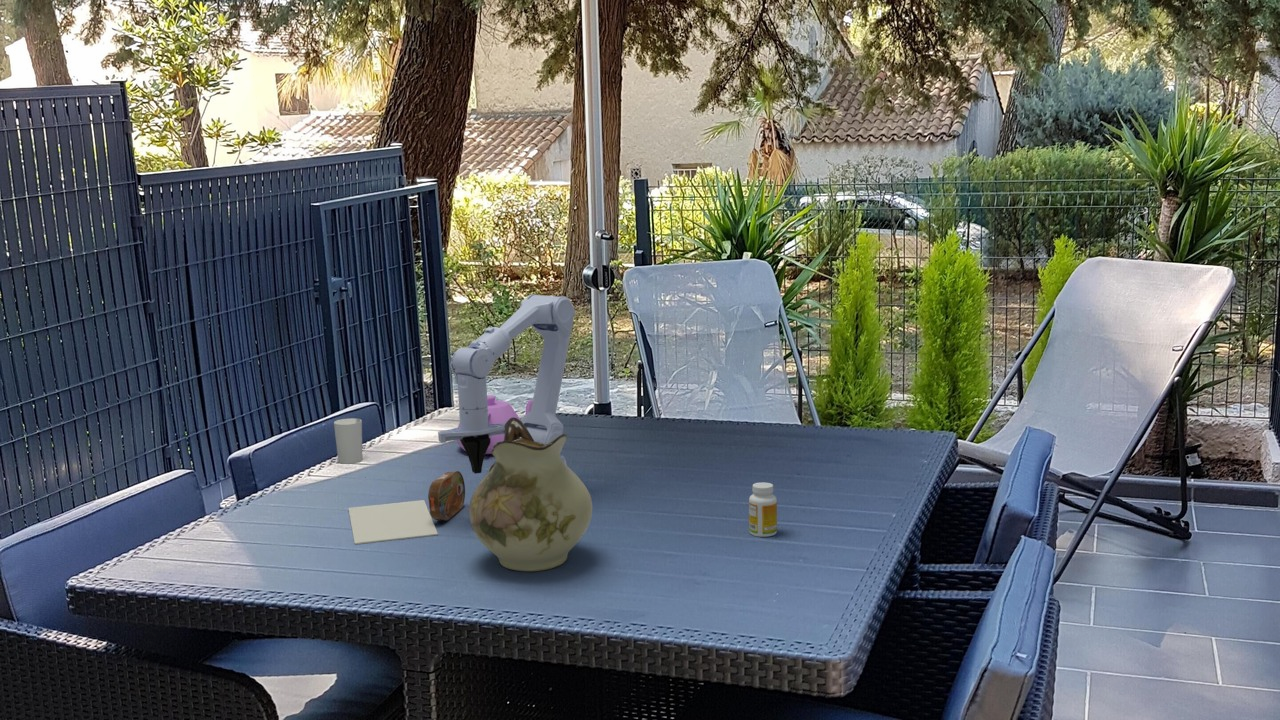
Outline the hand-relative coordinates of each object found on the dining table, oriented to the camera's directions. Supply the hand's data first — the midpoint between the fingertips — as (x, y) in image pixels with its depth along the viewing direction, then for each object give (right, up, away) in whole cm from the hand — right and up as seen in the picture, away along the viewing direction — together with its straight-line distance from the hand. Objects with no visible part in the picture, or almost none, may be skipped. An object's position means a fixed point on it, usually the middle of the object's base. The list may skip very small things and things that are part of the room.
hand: (476, 472), depth 236 cm
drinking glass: (-38, -2, +51) cm, 64 cm away
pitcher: (+13, -14, -21) cm, 29 cm away
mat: (-18, -10, +2) cm, 21 cm away
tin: (-7, -10, +6) cm, 13 cm away
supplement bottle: (+57, -11, -10) cm, 59 cm away
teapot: (-2, 0, +59) cm, 59 cm away
